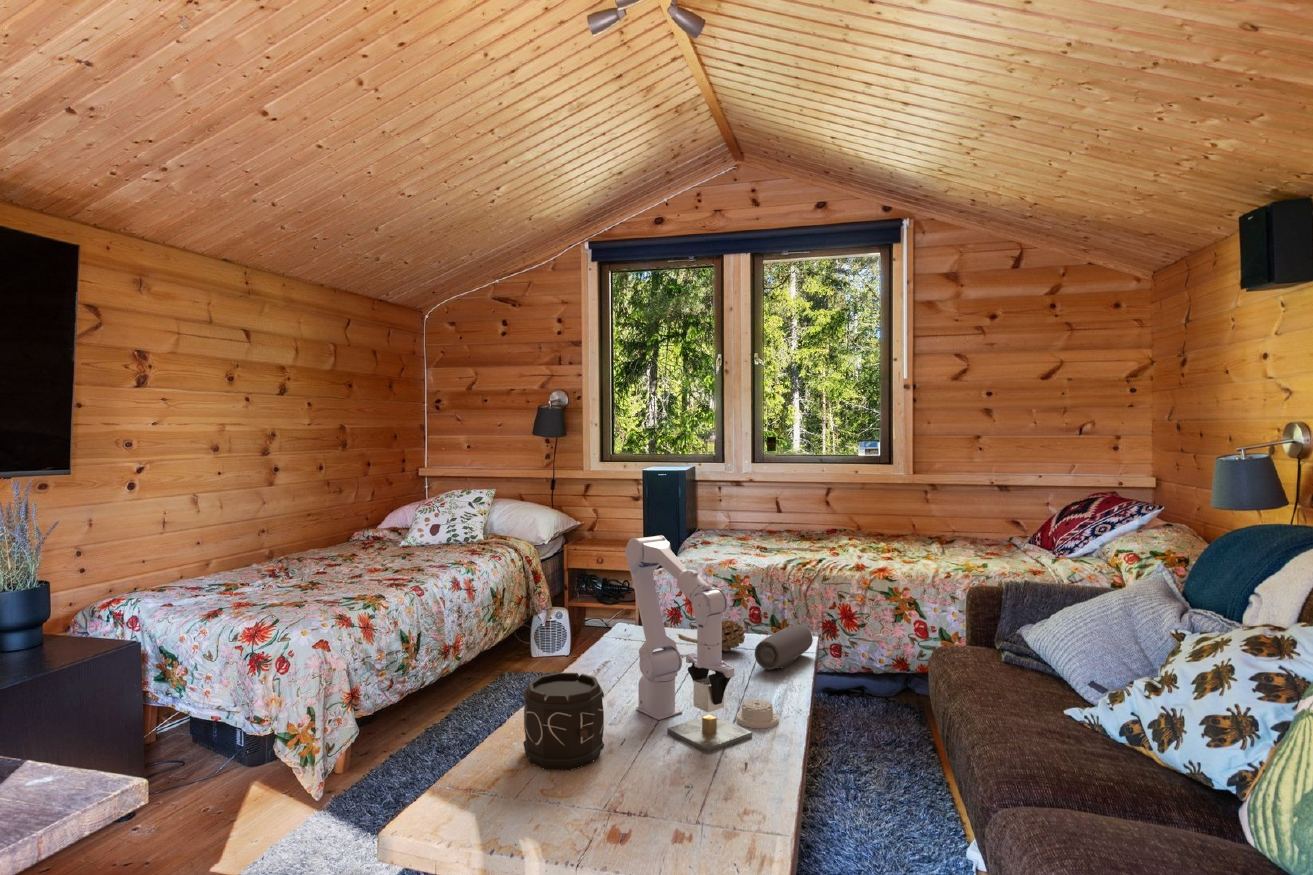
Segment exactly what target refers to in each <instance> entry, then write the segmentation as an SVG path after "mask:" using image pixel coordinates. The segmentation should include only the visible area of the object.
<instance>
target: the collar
mask: <svg viewBox="0 0 1313 875" xmlns="http://www.w3.org/2000/svg"><path fill="white" fill-rule="evenodd" d="M693 707H695V708H697V709H700V710H702V711H704V712H706V713H711V712H714V711H717V710H719V709H723V708H725V694H724V695H723V699H722V703H721V704H717V705H714V704H713V698H712V687H711V683H710V680H709V677H704V678H701V679H698V680H694V683H693Z"/></svg>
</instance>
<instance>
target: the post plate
mask: <svg viewBox="0 0 1313 875" xmlns="http://www.w3.org/2000/svg"><path fill="white" fill-rule="evenodd" d="M666 733H667V735H670V736H672V737H673V738H676V739H677V740H679V741H682V742H683V743H686V745H687V744H688V745H689V746H691V747H693V748H695V749H697V750H699V751H701V752H703V753H705V754H710V753H713V752H716V751H718V750H721V749H724V748H726V747H730V746H732V745H734V744H737V743H741V742H743V741H745V740H749V739H751V738H753V732H752V731H750V730H748V729H746V728H744V727H742V726H740V725H737V724H735V723H733V722H730V721H728V720H726V719H723V718H722V717H719V716H718V715H717V716H716V715H714V714H712V713H710V714H706V715H704V716H701V717H698V718H694V719H690V720H688V721H685V722H683V723H679V724H676V725H673V726H669V727H667V728H666Z"/></svg>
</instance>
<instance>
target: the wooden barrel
mask: <svg viewBox="0 0 1313 875" xmlns="http://www.w3.org/2000/svg"><path fill="white" fill-rule="evenodd" d="M522 696H523V700H524V709H523V727H524V729H523V730H524V735H525V737H524V738H525V740H524V741H523V748H524V753H525V757H526V758H528V759H529V763H530V764H531V763H532V764H531V765H533V764H535V765H534V766H536V765H537V766H536V767H538V766H539V767H538V768H540V769H543V768H544V769H543V770H545V769H546V771H566V770H569V771H572V770H571V769H573V768H576V769H579V768H578V767H580V768H582V767H581V766H584V767H586V766H585V765H588V764H590V765H591V764H592V763H593V762H594V761H595V760H597V759H598V758H599V757H600V756H599V755H600V754H601V751H602V750H603V749H604V747H605V742H604V741H603V739H604V729H605V726H604V725H605V723H604V722H605V721H604V720H605V717H604V703H603V698H604V697H605V693H604V690H603V689H602V687H601V684H599V681H598V679H597V677H595V676H591V675H588V674H585V673H581V674H579V673H578V672H555V673H550V674H545V675H540V676H538V677H537V678H535V679H533V680H532V681H531V680H530V682H528V684H527V687H526V688H525V689H524V690H523V693H522ZM598 756H599V757H598ZM597 757H598V758H597ZM593 760H594V761H593ZM588 766H589V765H588ZM573 770H574V769H573Z"/></svg>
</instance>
